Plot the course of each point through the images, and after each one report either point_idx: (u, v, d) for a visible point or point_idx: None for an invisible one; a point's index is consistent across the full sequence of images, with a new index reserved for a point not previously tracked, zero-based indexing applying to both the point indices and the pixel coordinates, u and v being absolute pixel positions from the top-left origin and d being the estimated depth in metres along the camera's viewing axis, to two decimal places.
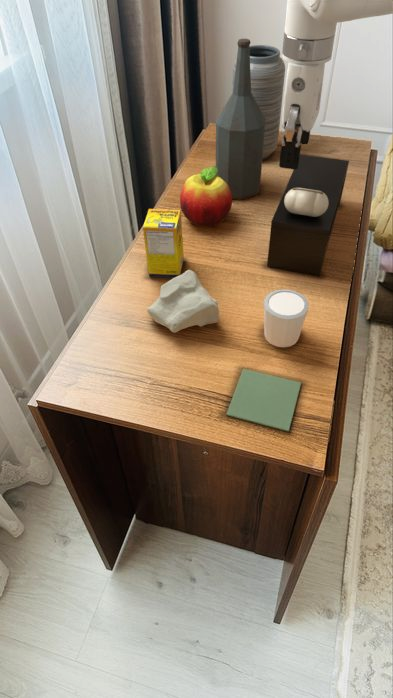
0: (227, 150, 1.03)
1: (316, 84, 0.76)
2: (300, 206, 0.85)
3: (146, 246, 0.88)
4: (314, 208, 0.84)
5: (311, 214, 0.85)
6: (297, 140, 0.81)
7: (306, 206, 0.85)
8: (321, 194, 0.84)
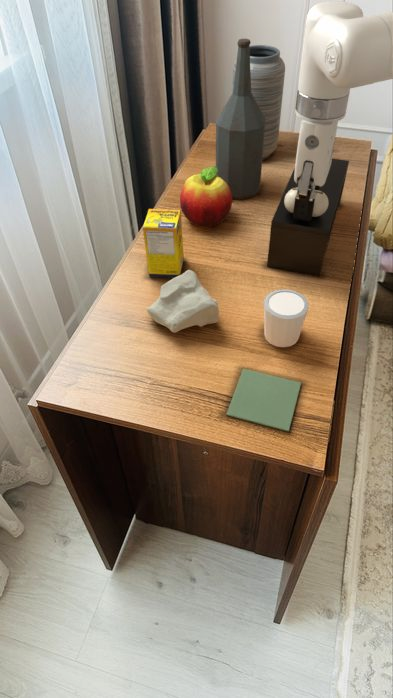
0: (227, 150, 1.03)
1: (330, 141, 0.74)
2: None
3: (146, 246, 0.88)
4: (314, 208, 0.84)
5: None
6: (311, 196, 0.81)
7: None
8: (321, 194, 0.84)
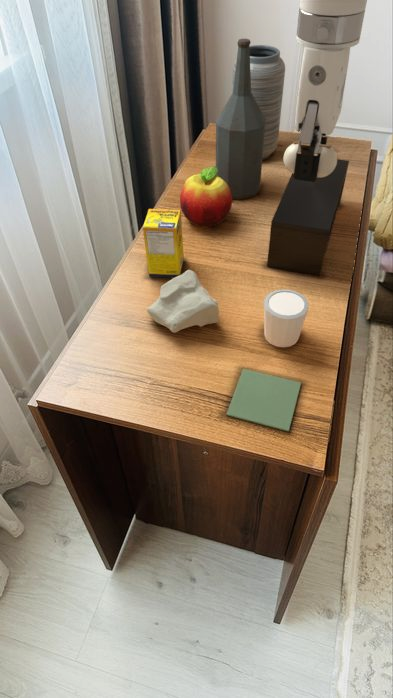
0: (227, 150, 1.03)
1: (340, 74, 0.59)
2: None
3: (146, 246, 0.88)
4: (319, 165, 0.69)
5: None
6: (316, 149, 0.66)
7: None
8: (328, 148, 0.69)
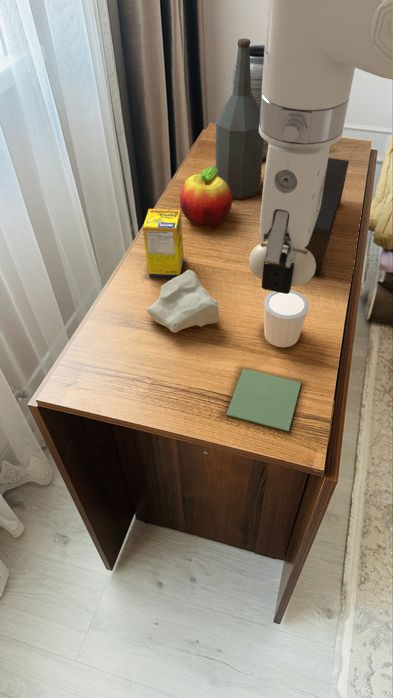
0: (227, 150, 1.03)
1: (316, 180, 0.44)
2: None
3: (146, 246, 0.88)
4: (293, 275, 0.55)
5: None
6: (287, 261, 0.51)
7: None
8: (304, 254, 0.54)
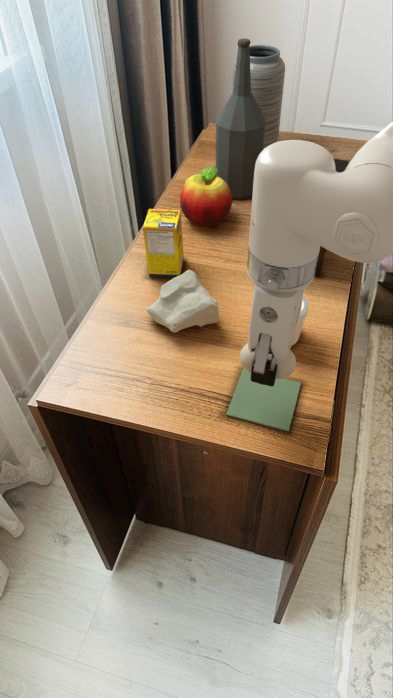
0: (227, 150, 1.03)
1: (293, 313, 0.54)
2: None
3: (146, 246, 0.88)
4: (277, 373, 0.65)
5: None
6: (271, 365, 0.62)
7: None
8: None
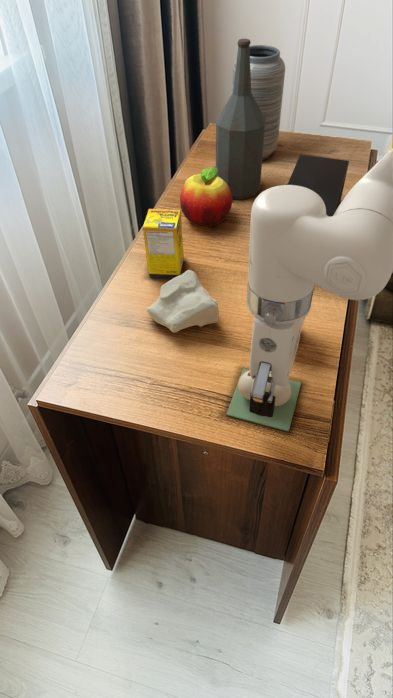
0: (227, 150, 1.03)
1: (291, 343, 0.58)
2: None
3: (146, 246, 0.88)
4: None
5: None
6: (270, 396, 0.62)
7: None
8: None
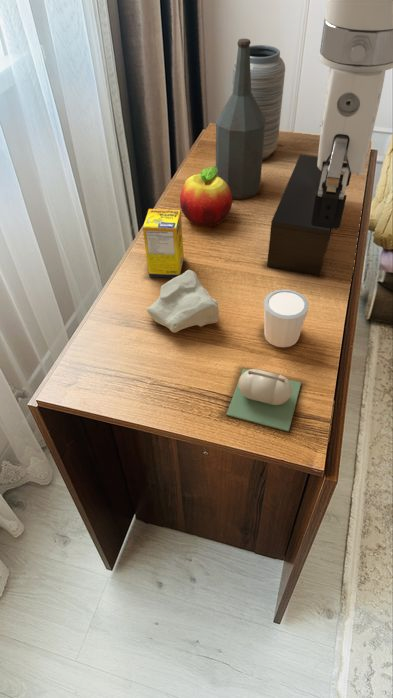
0: (227, 150, 1.03)
1: (377, 103, 0.47)
2: (256, 394, 0.70)
3: (146, 246, 0.88)
4: (274, 398, 0.69)
5: (270, 403, 0.70)
6: (342, 188, 0.52)
7: (264, 395, 0.69)
8: (282, 382, 0.69)
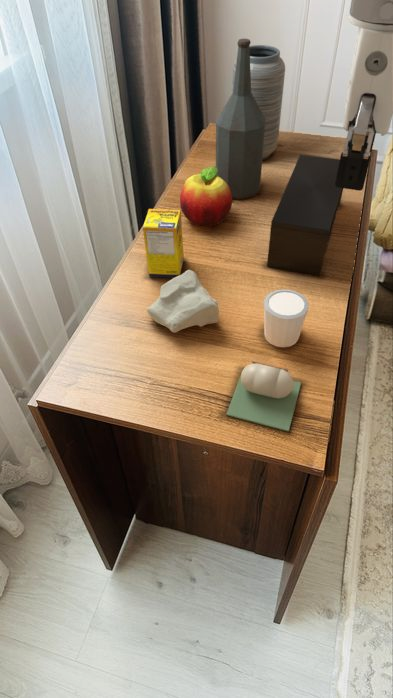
0: (227, 150, 1.03)
1: None
2: (260, 380, 0.70)
3: (146, 246, 0.88)
4: (277, 384, 0.69)
5: (273, 392, 0.70)
6: (367, 148, 0.54)
7: (268, 380, 0.70)
8: (286, 371, 0.71)
